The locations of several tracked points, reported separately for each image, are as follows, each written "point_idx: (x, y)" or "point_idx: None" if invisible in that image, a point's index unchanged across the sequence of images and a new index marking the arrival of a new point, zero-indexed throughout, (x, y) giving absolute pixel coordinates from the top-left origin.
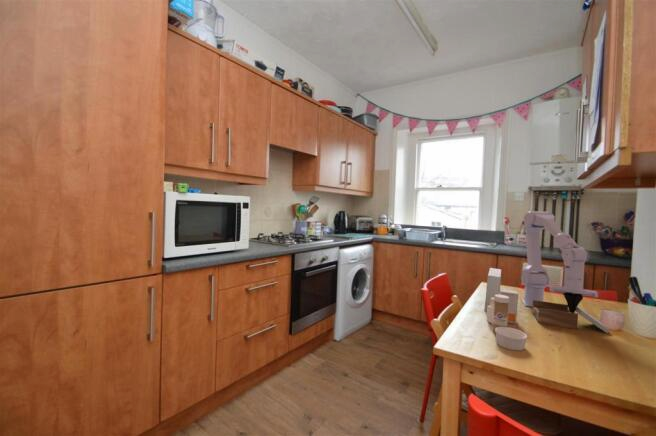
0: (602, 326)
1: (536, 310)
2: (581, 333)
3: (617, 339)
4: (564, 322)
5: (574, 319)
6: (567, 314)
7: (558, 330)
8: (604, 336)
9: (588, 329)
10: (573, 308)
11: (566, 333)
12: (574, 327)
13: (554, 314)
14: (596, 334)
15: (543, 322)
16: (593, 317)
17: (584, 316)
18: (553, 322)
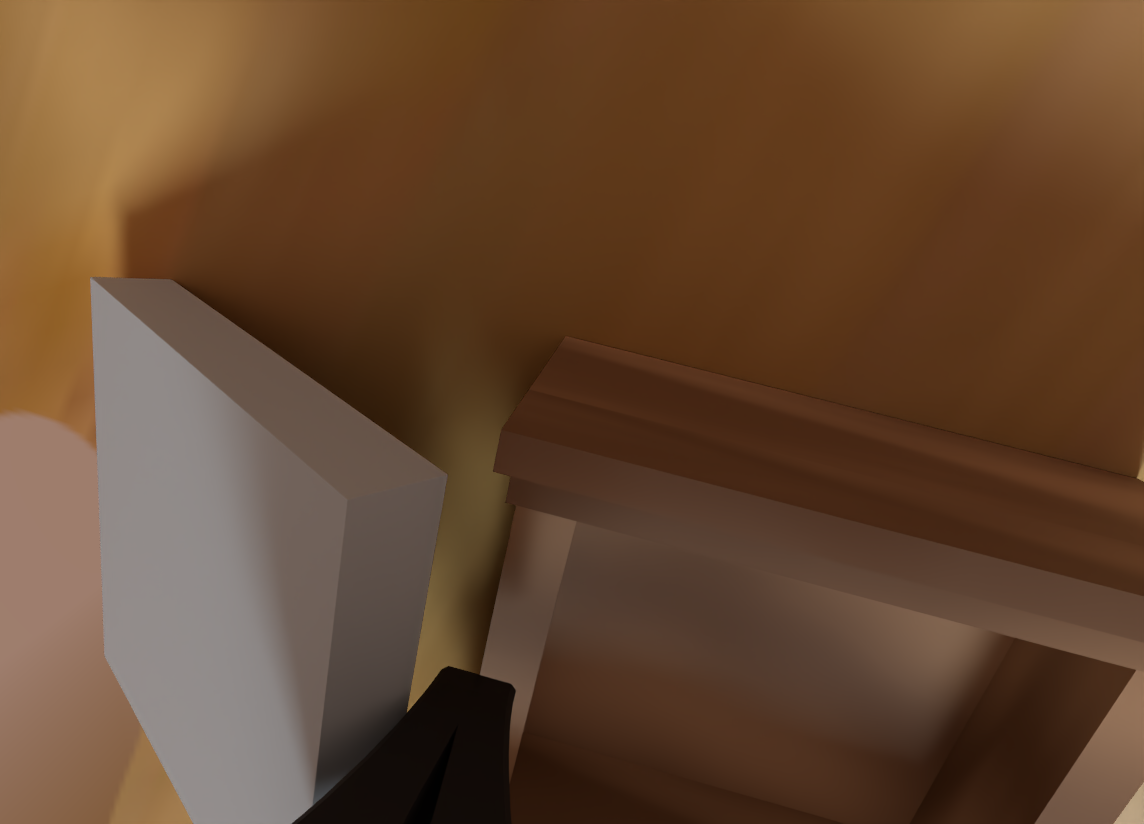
0: (156, 311)
1: (1106, 814)
2: (601, 140)
3: (124, 25)
4: (757, 410)
5: (591, 398)
6: (739, 467)
7: (984, 173)
8: (270, 111)
9: (376, 383)
10: (441, 745)
11: (922, 36)
12: (601, 349)
13: (1007, 517)
14: (357, 173)
15: (1075, 472)
16: (134, 696)
17: (358, 429)
18: (930, 441)
